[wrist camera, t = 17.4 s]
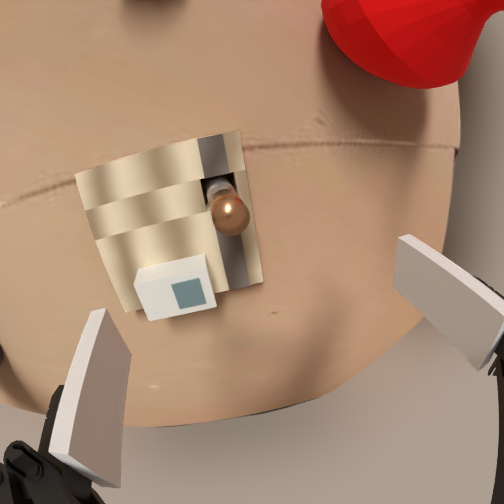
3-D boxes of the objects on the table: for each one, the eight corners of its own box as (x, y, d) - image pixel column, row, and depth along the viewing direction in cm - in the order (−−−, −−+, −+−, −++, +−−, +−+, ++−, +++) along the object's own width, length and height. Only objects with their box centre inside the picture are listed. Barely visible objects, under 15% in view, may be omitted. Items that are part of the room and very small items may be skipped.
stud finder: (151, 303, 33) (149, 322, 29) (138, 268, 30) (133, 285, 27) (214, 289, 33) (217, 307, 30) (204, 253, 31) (206, 269, 28)
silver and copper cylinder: (207, 200, 32) (216, 239, 21) (203, 177, 31) (209, 204, 20) (231, 195, 32) (252, 231, 21) (227, 172, 31) (247, 196, 20)
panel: (129, 299, 35) (125, 313, 32) (84, 170, 27) (74, 174, 24) (257, 270, 37) (263, 282, 34) (234, 130, 29) (239, 130, 26)
